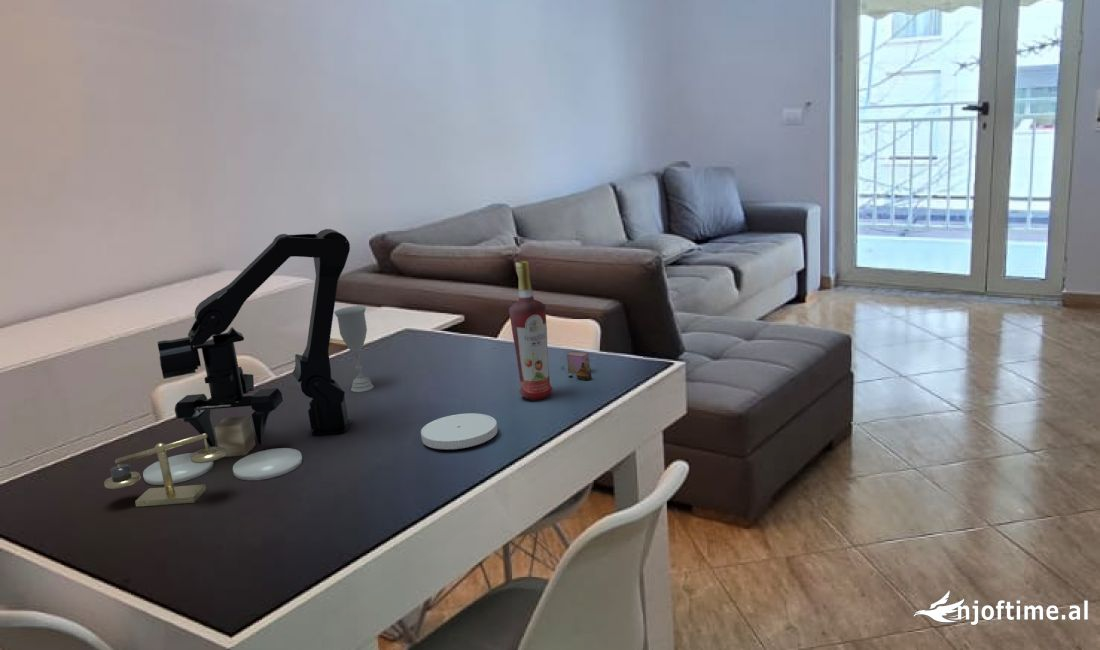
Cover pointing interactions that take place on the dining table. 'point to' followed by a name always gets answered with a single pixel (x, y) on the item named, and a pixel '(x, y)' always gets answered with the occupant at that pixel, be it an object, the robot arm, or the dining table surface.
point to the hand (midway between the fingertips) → (237, 445)
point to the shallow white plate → (267, 464)
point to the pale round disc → (177, 470)
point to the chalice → (354, 340)
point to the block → (235, 435)
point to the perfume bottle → (579, 365)
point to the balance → (164, 474)
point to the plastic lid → (459, 431)
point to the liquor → (530, 338)
